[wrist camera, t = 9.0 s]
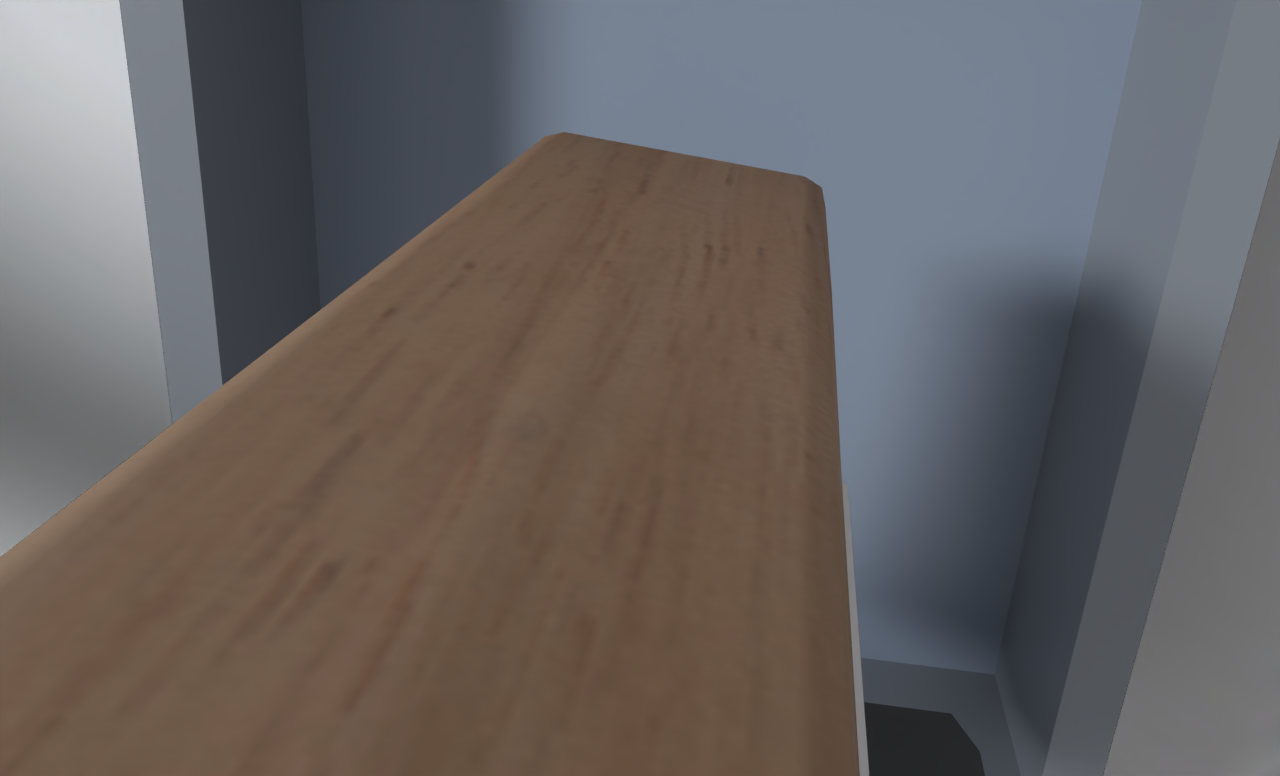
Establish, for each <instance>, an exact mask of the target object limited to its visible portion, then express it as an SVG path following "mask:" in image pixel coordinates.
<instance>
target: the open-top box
mask: <svg viewBox="0 0 1280 776" xmlns="http://www.w3.org/2000/svg"><path fill="white" fill-rule="evenodd" d="M119 2H120V10H121V18H122V26H123V34H124V42H125V50H126V58H127V66H128V74H129V82H130V90H131V98H132V105H133V113H134V121H135V129H136V137H137V145H138V153H139V161H140V169H141V177H142V185H143V193H144V201H145V209H146V217H147V225H148V233H149V241H150V249H151V257H152V265H153V273H154V281H155V289H156V297H157V305H158V313H159V321H160V329H161V337H162V345H163V353H164V361H165V369H166V377H167V385H168V393H169V401H170V409H171V417H172V424H173V423H175V422H176V421H177V420H179V419H180V418H181V417H183V416H184V415H185V414H186V413H188V412H189V411H190V410H192V409H193V408H194V407H195V406H197V405H198V404H199V403H201V402H202V401H203V400H205V399H206V398H207V397H208V396H210V395H211V394H212V393H214V392H215V391H216V390H217V389H219V388H220V387H221V386H223V385H224V384H225V383H227V382H228V381H229V380H230V379H232V378H233V377H234V376H236V375H237V374H238V373H239V372H241V371H242V370H243V369H245V368H246V367H247V366H249V365H250V364H251V363H252V362H254V361H255V360H256V359H258V358H259V357H260V356H261V355H263V354H264V353H265V352H267V351H268V350H269V349H271V348H272V347H273V346H274V345H276V344H277V343H278V342H280V341H281V340H282V339H283V338H285V337H286V336H287V335H289V334H290V333H291V332H293V331H294V330H295V329H296V328H298V327H299V326H300V325H302V324H303V323H304V322H305V321H307V320H308V319H309V318H311V317H312V316H313V315H315V314H316V313H317V312H318V311H320V310H321V309H322V308H324V307H325V306H326V305H327V304H329V303H330V302H331V301H333V300H334V299H335V298H336V297H338V296H339V295H340V294H342V293H343V292H344V291H346V290H347V289H348V288H349V287H351V286H352V285H353V284H355V283H356V282H357V281H358V280H360V279H361V278H362V277H364V276H365V275H366V274H368V273H369V272H370V271H371V270H373V269H374V268H375V267H377V266H378V265H379V264H380V263H382V262H383V261H384V260H386V259H387V258H388V257H389V256H391V255H392V254H393V253H395V252H396V251H397V250H399V249H400V248H401V247H402V246H404V245H405V244H406V243H408V242H409V241H410V240H411V239H413V238H414V237H415V236H417V235H418V234H419V233H421V232H422V231H423V230H424V229H426V228H427V227H428V226H430V225H431V224H432V223H433V222H435V221H436V220H437V219H439V218H440V217H441V216H442V215H444V214H445V213H446V212H448V211H449V210H450V209H452V208H453V207H454V206H455V205H457V204H458V203H459V202H461V201H462V200H463V199H464V198H466V197H467V196H468V195H470V194H471V193H472V192H474V191H475V190H476V189H477V188H479V187H480V186H481V185H483V184H484V183H485V182H486V181H488V180H489V179H490V178H492V177H493V176H494V175H496V174H497V173H498V172H499V171H501V170H502V169H503V168H505V167H506V166H507V165H509V164H510V163H511V162H512V161H514V160H515V159H516V158H518V157H519V156H520V155H521V154H523V153H524V152H525V151H527V150H528V149H529V148H531V147H532V146H533V145H534V144H536V143H537V142H538V141H540V140H541V139H542V138H544V137H545V136H549V135H553V134H557V133H562V132H567V133H573V134H578V135H584V136H589V137H594V138H600V139H605V140H611V141H616V142H622V143H627V144H632V145H638V146H643V147H649V148H654V149H659V150H665V151H670V152H676V153H681V154H687V155H692V156H697V157H703V158H708V159H714V160H719V161H724V162H730V163H735V164H741V165H746V166H752V167H757V168H762V169H768V170H773V171H779V172H784V173H789V174H795V175H800V176H805V177H807V178H808V179H810V180H811V181H813V182H814V183H816V184H817V185H819V186H820V187H822V191H823V196H824V202H825V207H826V220H827V234H828V247H829V260H830V273H831V286H832V304H833V323H834V342H835V361H836V380H837V399H838V418H839V437H840V456H841V472H842V483H843V484H848V496H849V510H850V523H851V537H852V550H853V564H854V577H855V590H856V604H857V617H858V631H859V644H860V657H861V671H862V684H863V698H864V702H867V703H875V704H882V705H890V706H898V707H905V708H913V709H921V710H928V711H936V712H943V713H951V714H952V715H953V716H954V718H955V719H956V720H957V722H958V723H959V724H960V726H961V727H962V728H963V730H964V731H965V732H966V734H967V735H968V736H969V738H970V739H971V740H972V742H973V743H974V744H975V746H976V747H977V748H978V750H979V751H980V754H981V759H982V764H983V768H984V773H985V776H1103V773H1104V769H1105V766H1106V762H1107V759H1108V755H1109V751H1110V748H1111V744H1112V741H1113V737H1114V734H1115V730H1116V726H1117V723H1118V719H1119V716H1120V712H1121V708H1122V705H1123V701H1124V698H1125V694H1126V690H1127V687H1128V683H1129V680H1130V676H1131V672H1132V669H1133V665H1134V662H1135V658H1136V654H1137V651H1138V647H1139V644H1140V640H1141V636H1142V633H1143V629H1144V626H1145V622H1146V618H1147V615H1148V611H1149V608H1150V604H1151V600H1152V597H1153V593H1154V590H1155V586H1156V582H1157V579H1158V575H1159V572H1160V568H1161V564H1162V561H1163V557H1164V554H1165V550H1166V546H1167V543H1168V539H1169V536H1170V532H1171V528H1172V525H1173V521H1174V518H1175V514H1176V510H1177V507H1178V503H1179V500H1180V496H1181V492H1182V489H1183V485H1184V482H1185V478H1186V475H1187V471H1188V467H1189V464H1190V460H1191V457H1192V453H1193V449H1194V446H1195V442H1196V439H1197V435H1198V431H1199V428H1200V424H1201V421H1202V417H1203V413H1204V410H1205V406H1206V403H1207V399H1208V395H1209V392H1210V388H1211V385H1212V381H1213V377H1214V374H1215V370H1216V367H1217V363H1218V359H1219V356H1220V352H1221V349H1222V345H1223V341H1224V338H1225V334H1226V331H1227V327H1228V323H1229V320H1230V316H1231V313H1232V309H1233V305H1234V302H1235V298H1236V295H1237V291H1238V287H1239V284H1240V280H1241V277H1242V273H1243V269H1244V266H1245V262H1246V259H1247V255H1248V251H1249V248H1250V244H1251V241H1252V237H1253V233H1254V230H1255V226H1256V223H1257V219H1258V216H1259V212H1260V208H1261V205H1262V201H1263V198H1264V194H1265V190H1266V187H1267V183H1268V180H1269V176H1270V172H1271V169H1272V165H1273V162H1274V158H1275V154H1276V151H1277V147H1278V144H1279V140H1280V0H119Z"/></svg>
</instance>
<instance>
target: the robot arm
mask: <svg viewBox="0 0 1280 776" xmlns="http://www.w3.org/2000/svg"><path fill="white" fill-rule="evenodd" d="M842 489H843V505H844V522H845V539H846V555H847V572H848V588H849V605H850V621H851V638H852V655H853V671H854V688H855V704H856V721H857V738H858V754H859V771H860V776H985V773H984V768H983V764H982V759H981V754H980V751H979V750H978V748H977V747H976V746H975V744H974V743H973V742H972V740H971V739H970V738H969V736H968V735H967V734H966V732H965V731H964V730H963V728H962V727H961V726H960V724H959V723H958V722H957V720H956V719H955V718H954V716H953V715H952V714H951V713H943V712H936V711H928V710H921V709H913V708H905V707H898V706H890V705H882V704H875V703H867V702H864V698H863V684H862V671H861V657H860V644H859V631H858V617H857V604H856V590H855V577H854V564H853V550H852V537H851V523H850V510H849V496H848V484H843V483H842Z"/></svg>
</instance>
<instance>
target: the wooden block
mask: <svg viewBox="0 0 1280 776" xmlns="http://www.w3.org/2000/svg"><path fill="white" fill-rule="evenodd" d="M0 776H860V771H859V754H858V738H857V721H856V704H855V688H854V671H853V655H852V638H851V621H850V605H849V588H848V572H847V555H846V539H845V522H844V505H843V489H842V472H841V456H840V437H839V418H838V399H837V380H836V361H835V342H834V323H833V304H832V286H831V273H830V260H829V247H828V234H827V220H826V207H825V202H824V196H823V191H822V187H820V186H819V185H817V184H816V183H814V182H813V181H811V180H810V179H808V178H807V177H805V176H800V175H795V174H789V173H784V172H779V171H773V170H768V169H762V168H757V167H752V166H746V165H741V164H735V163H730V162H724V161H719V160H714V159H708V158H703V157H697V156H692V155H687V154H681V153H676V152H670V151H665V150H659V149H654V148H649V147H643V146H638V145H632V144H627V143H622V142H616V141H611V140H605V139H600V138H594V137H589V136H584V135H578V134H573V133H567V132H562V133H557V134H553V135H549V136H545V137H544V138H542V139H541V140H540V141H538V142H537V143H536V144H534V145H533V146H532V147H531V148H529V149H528V150H527V151H525V152H524V153H523V154H521V155H520V156H519V157H518V158H516V159H515V160H514V161H512V162H511V163H510V164H509V165H507V166H506V167H505V168H503V169H502V170H501V171H499V172H498V173H497V174H496V175H494V176H493V177H492V178H490V179H489V180H488V181H486V182H485V183H484V184H483V185H481V186H480V187H479V188H477V189H476V190H475V191H474V192H472V193H471V194H470V195H468V196H467V197H466V198H464V199H463V200H462V201H461V202H459V203H458V204H457V205H455V206H454V207H453V208H452V209H450V210H449V211H448V212H446V213H445V214H444V215H442V216H441V217H440V218H439V219H437V220H436V221H435V222H433V223H432V224H431V225H430V226H428V227H427V228H426V229H424V230H423V231H422V232H421V233H419V234H418V235H417V236H415V237H414V238H413V239H411V240H410V241H409V242H408V243H406V244H405V245H404V246H402V247H401V248H400V249H399V250H397V251H396V252H395V253H393V254H392V255H391V256H389V257H388V258H387V259H386V260H384V261H383V262H382V263H380V264H379V265H378V266H377V267H375V268H374V269H373V270H371V271H370V272H369V273H368V274H366V275H365V276H364V277H362V278H361V279H360V280H358V281H357V282H356V283H355V284H353V285H352V286H351V287H349V288H348V289H347V290H346V291H344V292H343V293H342V294H340V295H339V296H338V297H336V298H335V299H334V300H333V301H331V302H330V303H329V304H327V305H326V306H325V307H324V308H322V309H321V310H320V311H318V312H317V313H316V314H315V315H313V316H312V317H311V318H309V319H308V320H307V321H305V322H304V323H303V324H302V325H300V326H299V327H298V328H296V329H295V330H294V331H293V332H291V333H290V334H289V335H287V336H286V337H285V338H283V339H282V340H281V341H280V342H278V343H277V344H276V345H274V346H273V347H272V348H271V349H269V350H268V351H267V352H265V353H264V354H263V355H261V356H260V357H259V358H258V359H256V360H255V361H254V362H252V363H251V364H250V365H249V366H247V367H246V368H245V369H243V370H242V371H241V372H239V373H238V374H237V375H236V376H234V377H233V378H232V379H230V380H229V381H228V382H227V383H225V384H224V385H223V386H221V387H220V388H219V389H217V390H216V391H215V392H214V393H212V394H211V395H210V396H208V397H207V398H206V399H205V400H203V401H202V402H201V403H199V404H198V405H197V406H195V407H194V408H193V409H192V410H190V411H189V412H188V413H186V414H185V415H184V416H183V417H181V418H180V419H179V420H177V421H176V422H175V423H173V424H172V425H171V426H170V427H168V428H167V429H166V430H164V431H163V432H162V433H161V434H159V435H158V436H157V437H155V438H154V439H153V440H152V441H150V442H149V443H148V444H146V445H145V446H144V447H142V448H141V449H140V450H139V451H137V452H136V453H135V454H133V455H132V456H131V457H130V458H128V459H127V460H126V461H124V462H123V463H122V464H120V465H119V466H118V467H117V468H115V469H114V470H113V471H111V472H110V473H109V474H108V475H106V476H105V477H104V478H102V479H101V480H100V481H98V482H97V483H96V484H95V485H93V486H92V487H91V488H89V489H88V490H87V491H86V492H84V493H83V494H82V495H80V496H79V497H78V498H76V499H75V500H74V501H73V502H71V503H70V504H69V505H67V506H66V507H65V508H64V509H62V510H61V511H60V512H58V513H57V514H56V515H54V516H53V517H52V518H51V519H49V520H48V521H47V522H45V523H44V524H43V525H42V526H40V527H39V528H38V529H36V530H35V531H34V532H32V533H31V534H30V535H29V536H27V537H26V538H25V539H23V540H22V541H21V542H20V543H18V544H17V545H16V546H14V547H13V548H12V549H10V550H9V551H8V552H7V553H5V554H4V555H3V556H1V557H0Z"/></svg>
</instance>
